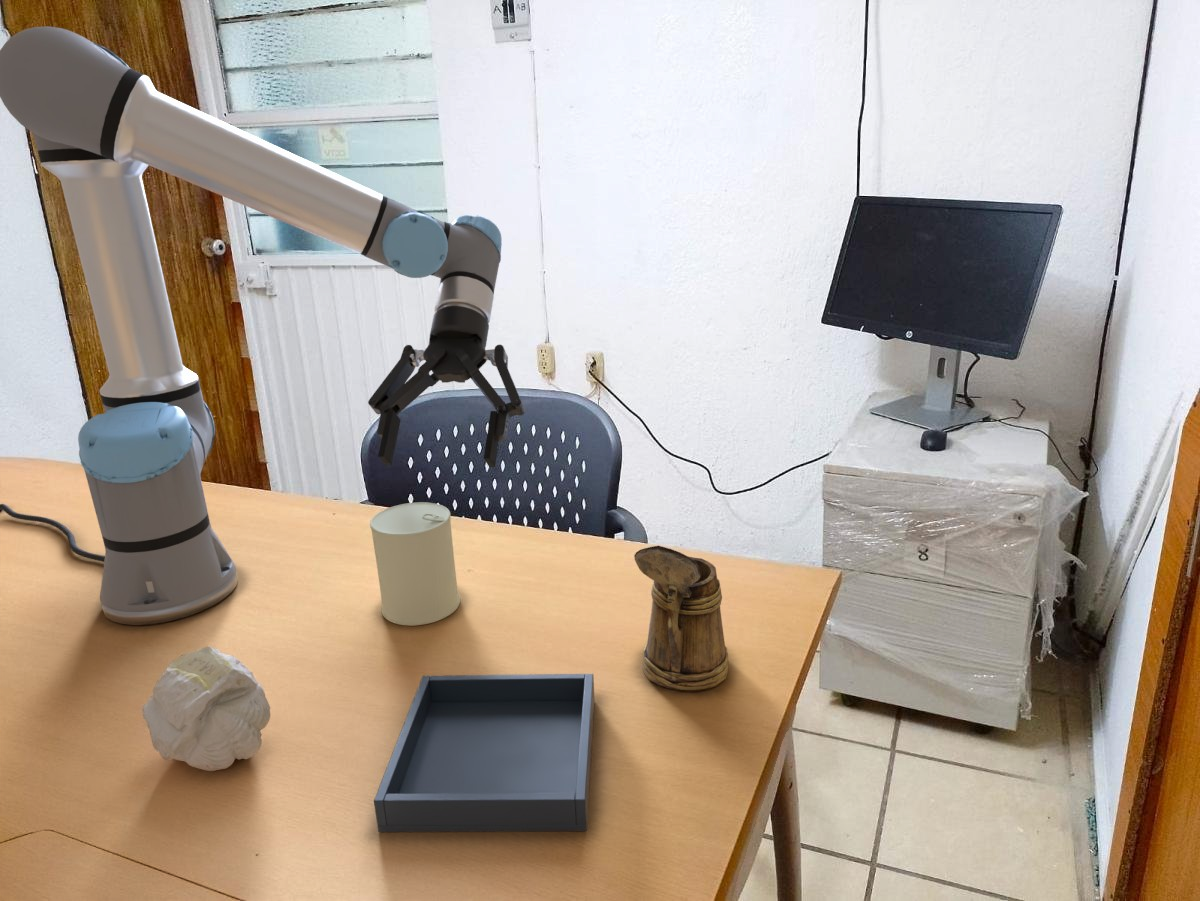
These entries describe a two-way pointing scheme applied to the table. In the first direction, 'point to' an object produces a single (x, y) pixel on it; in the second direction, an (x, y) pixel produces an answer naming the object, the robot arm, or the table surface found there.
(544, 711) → the tray
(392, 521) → the can
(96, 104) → the robot arm
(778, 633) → the table surface
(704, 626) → the wooden mug
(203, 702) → the fossil replica
